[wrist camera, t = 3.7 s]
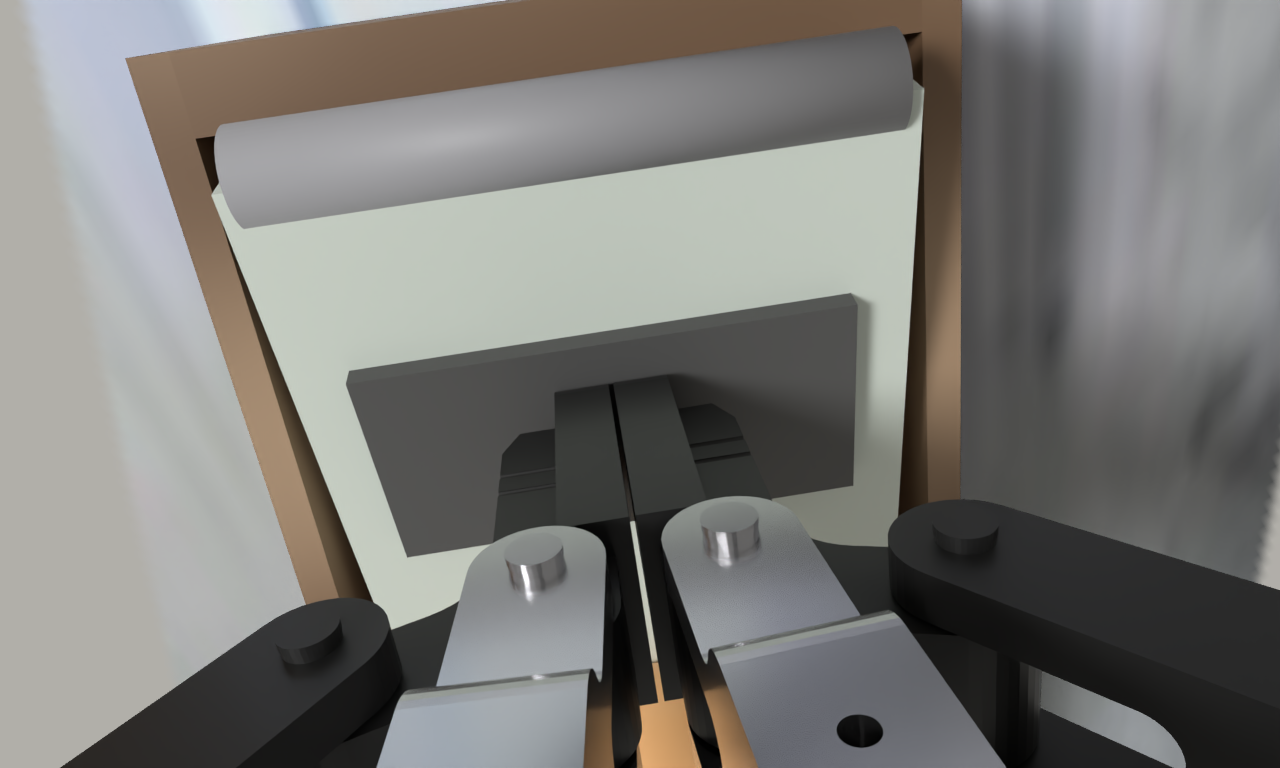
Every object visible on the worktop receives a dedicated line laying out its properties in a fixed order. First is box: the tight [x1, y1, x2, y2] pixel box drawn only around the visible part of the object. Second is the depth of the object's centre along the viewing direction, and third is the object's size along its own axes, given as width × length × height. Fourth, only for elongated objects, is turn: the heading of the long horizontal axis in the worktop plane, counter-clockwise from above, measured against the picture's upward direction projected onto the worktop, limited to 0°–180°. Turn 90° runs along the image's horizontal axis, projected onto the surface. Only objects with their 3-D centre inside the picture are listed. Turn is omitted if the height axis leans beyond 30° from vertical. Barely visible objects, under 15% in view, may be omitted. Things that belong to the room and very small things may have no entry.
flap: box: [211, 26, 924, 663], centre depth 13 cm, size 10×8×1 cm
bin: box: [125, 0, 962, 605], centre depth 17 cm, size 18×10×6 cm, turn 8°
